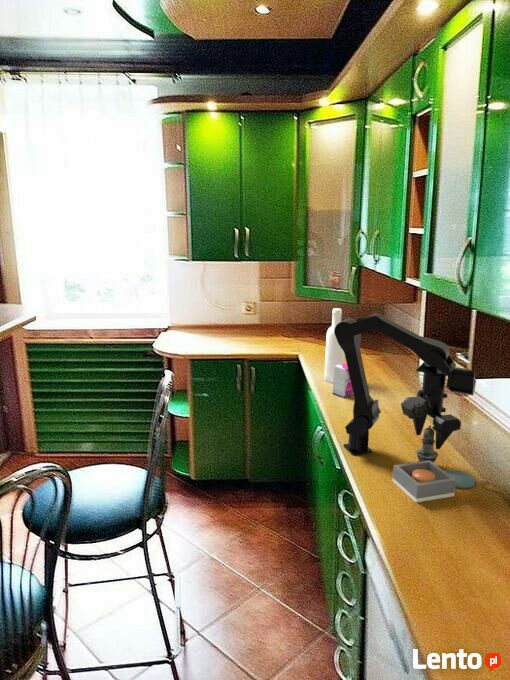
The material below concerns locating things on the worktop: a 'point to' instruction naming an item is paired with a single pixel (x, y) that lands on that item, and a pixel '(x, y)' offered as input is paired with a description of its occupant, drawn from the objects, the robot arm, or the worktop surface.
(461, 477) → the slate coaster
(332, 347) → the bottle
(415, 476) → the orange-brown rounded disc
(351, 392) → the supplement box
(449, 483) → the grey square tray
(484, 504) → the worktop surface
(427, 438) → the salt shaker
